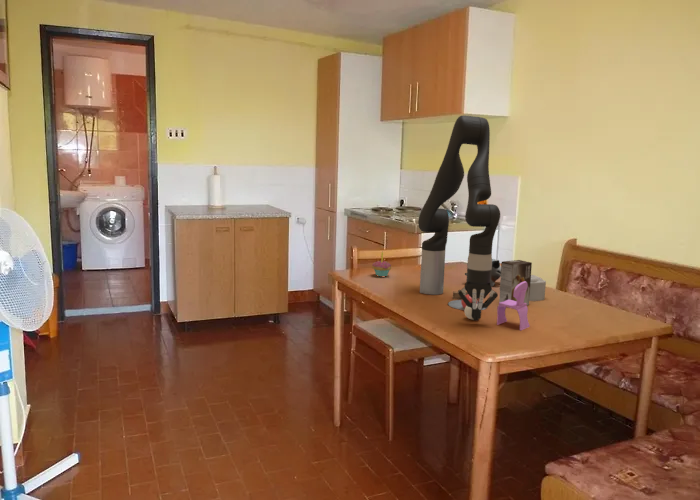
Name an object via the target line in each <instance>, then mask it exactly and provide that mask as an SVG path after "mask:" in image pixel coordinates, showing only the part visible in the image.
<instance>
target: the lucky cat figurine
mask: <svg viewBox="0 0 700 500" xmlns="http://www.w3.org/2000/svg"><path fill="white" fill-rule="evenodd" d="M501 264H502V262H501V261H500V260H499V259H495V258H492V270H491V287H492V288H493V287H494V286H495V283H496V281H498V280H499V279H501ZM464 275H465V276H466V277H467V272H465V273H464Z"/></svg>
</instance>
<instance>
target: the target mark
mask: <svg viewBox="0 0 700 500" xmlns="http://www.w3.org/2000/svg"><path fill="white" fill-rule="evenodd" d="M477 304H478V300H477ZM447 305H448V306H449V307H450V308H452V309H455V310H460V311H464V310H465V308H464V307H463V306H462V304H461V299H453V300H451V301H449V302H448V303H447ZM486 309H487V308H483V309H482V310H481V311H483V310H486Z"/></svg>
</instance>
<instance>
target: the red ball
mask: <svg viewBox="0 0 700 500" xmlns="http://www.w3.org/2000/svg"><path fill="white" fill-rule="evenodd" d="M465 296H466V297H467V299H468V300H469V302H470V303H472V298H471V297H470V296H469V294H468V295H465ZM460 300H461V299H460ZM477 301H478V300H477V299H476V304H477ZM461 304H462V306H463V307H464V308H465V307H466V306H467V305H466V304H465V302H464V301H463V300H461Z"/></svg>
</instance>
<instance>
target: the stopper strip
mask: <svg viewBox="0 0 700 500" xmlns="http://www.w3.org/2000/svg"><path fill="white" fill-rule="evenodd" d="M465 292H466V295H468V293H467V291H465ZM452 299H453V300H462V298H461V297H460V295H459V294H458V291H452ZM476 299H477V301H478V298H476Z"/></svg>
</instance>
